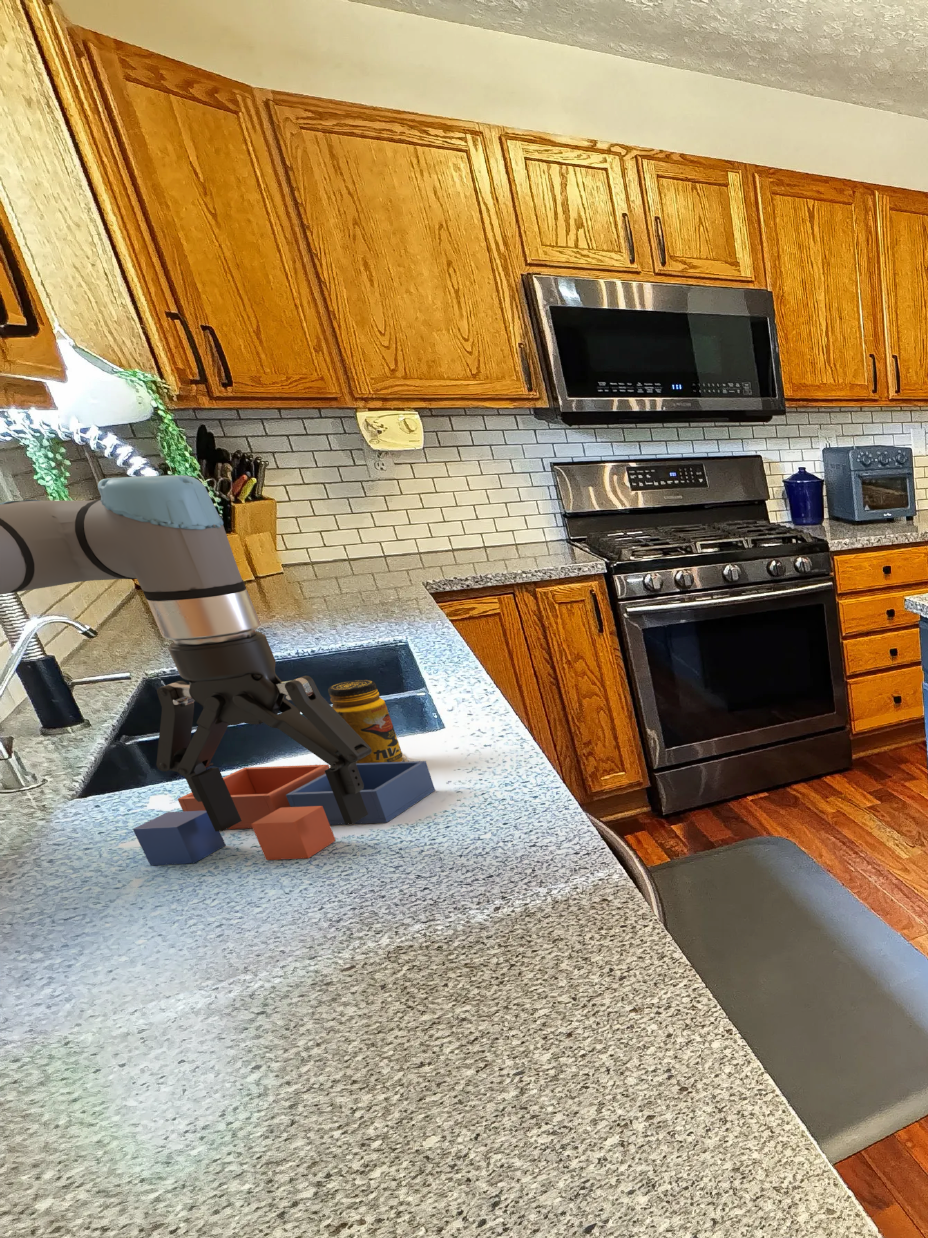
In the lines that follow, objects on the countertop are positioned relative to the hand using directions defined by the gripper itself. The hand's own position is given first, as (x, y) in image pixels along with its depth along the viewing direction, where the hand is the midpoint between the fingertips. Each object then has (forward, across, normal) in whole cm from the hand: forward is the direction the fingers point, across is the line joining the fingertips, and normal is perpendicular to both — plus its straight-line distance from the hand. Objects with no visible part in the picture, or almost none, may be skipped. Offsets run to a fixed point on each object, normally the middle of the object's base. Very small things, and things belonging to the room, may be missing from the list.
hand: (293, 823), depth 97 cm
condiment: (+4, +9, -27) cm, 29 cm away
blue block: (+3, +12, 0) cm, 13 cm away
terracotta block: (+3, 0, 0) cm, 3 cm away
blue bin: (+3, 0, -12) cm, 12 cm away
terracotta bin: (+3, +12, -12) cm, 17 cm away
